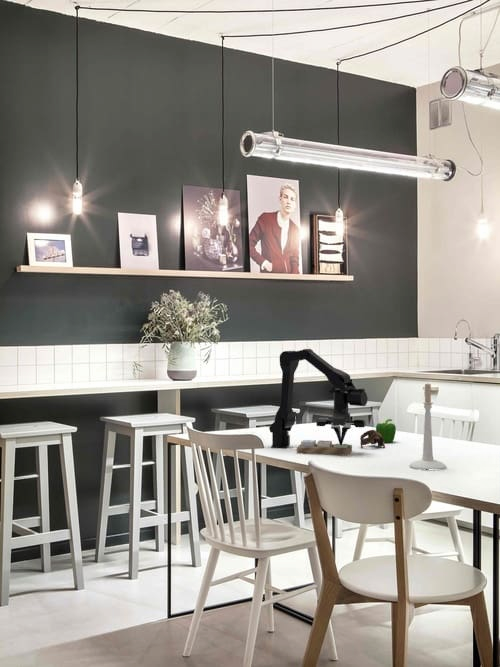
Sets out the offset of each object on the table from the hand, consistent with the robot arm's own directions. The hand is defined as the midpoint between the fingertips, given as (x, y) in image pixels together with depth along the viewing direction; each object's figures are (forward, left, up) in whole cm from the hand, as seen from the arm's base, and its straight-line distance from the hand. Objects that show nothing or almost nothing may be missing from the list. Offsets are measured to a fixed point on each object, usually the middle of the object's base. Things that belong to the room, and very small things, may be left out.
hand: (341, 444), depth 338 cm
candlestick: (+35, -26, -4) cm, 43 cm away
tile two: (-6, 0, -1) cm, 7 cm away
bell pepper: (+15, +33, -4) cm, 36 cm away
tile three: (0, 0, -2) cm, 2 cm away
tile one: (-13, 0, -1) cm, 13 cm away
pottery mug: (+11, +18, -4) cm, 21 cm away
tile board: (-6, 0, -3) cm, 7 cm away
